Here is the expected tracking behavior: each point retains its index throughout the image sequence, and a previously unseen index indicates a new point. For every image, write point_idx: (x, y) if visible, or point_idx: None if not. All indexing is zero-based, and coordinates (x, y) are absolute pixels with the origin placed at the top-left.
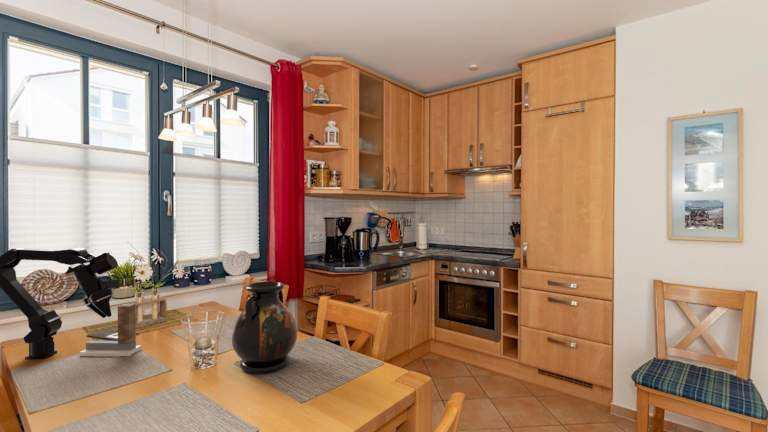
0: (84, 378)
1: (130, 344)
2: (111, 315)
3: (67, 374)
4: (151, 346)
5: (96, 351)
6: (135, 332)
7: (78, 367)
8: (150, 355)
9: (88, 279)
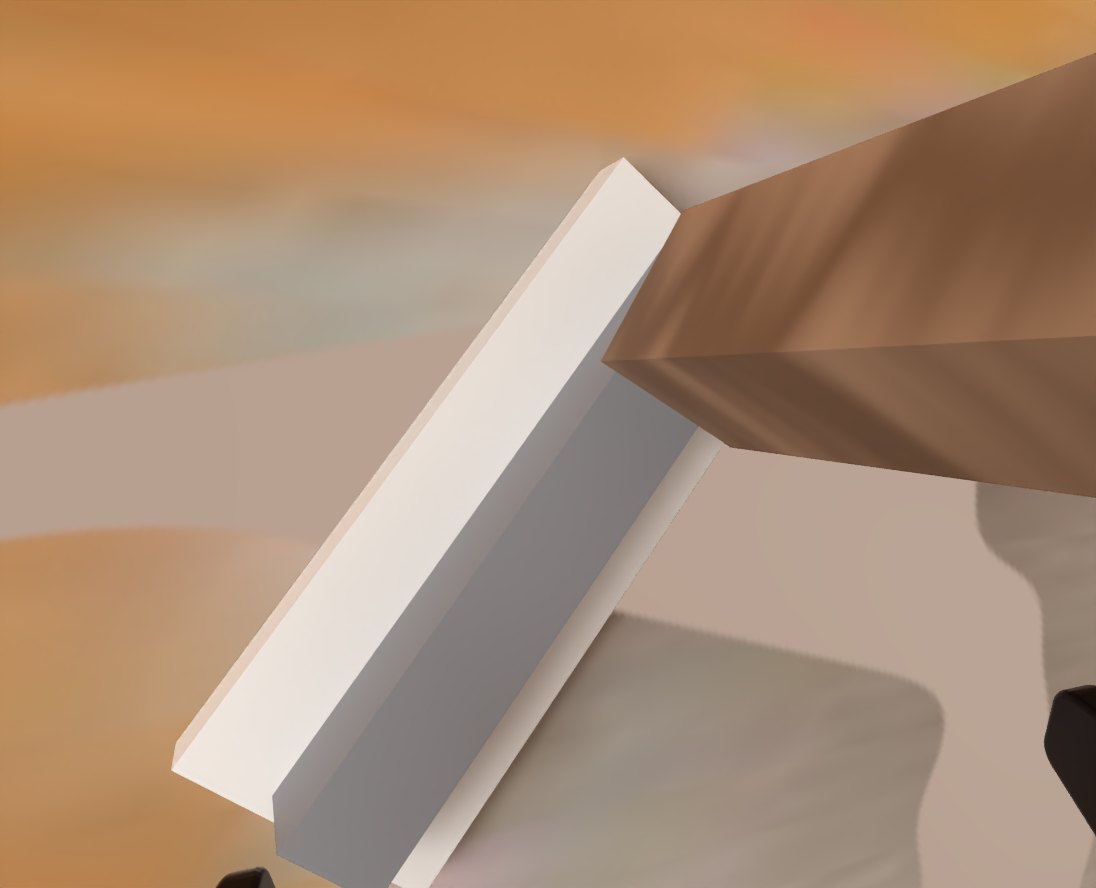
0: (1050, 672)
1: None
2: (1091, 685)
3: (900, 826)
4: (554, 32)
5: (532, 688)
6: (757, 182)
7: (786, 777)
8: (862, 123)
9: None
